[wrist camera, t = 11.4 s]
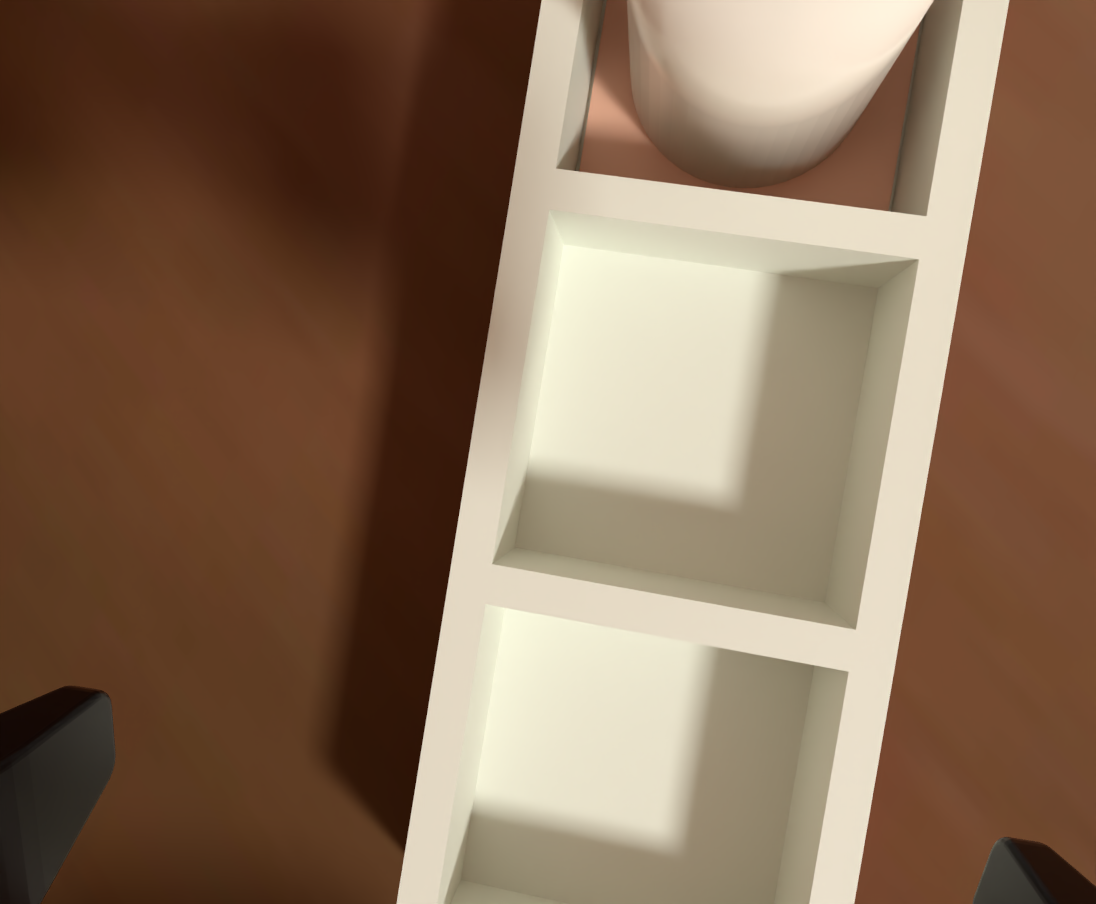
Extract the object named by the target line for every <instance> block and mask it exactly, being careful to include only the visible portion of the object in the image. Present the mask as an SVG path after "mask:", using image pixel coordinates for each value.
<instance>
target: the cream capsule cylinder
mask: <svg viewBox="0 0 1096 904" xmlns="http://www.w3.org/2000/svg"><path fill="white" fill-rule="evenodd" d="M933 1H934V0H627V13H628V34H629V56H630V77H631V88H632V96H633V100H634V104H635V108H636V112H637V114H638V117H639V119H640V122H641V124H642V126H643V128H644V130H645V131H646V133H647V135H648V137H649V138H650V140H651V141H652V142H653V143H654V145H655V146H656V147H657V149H658V150H659V151H660V152H661V153H662V154H663V155H664V156H665V157H666V158H667V159H668V160H669V161H670V162H672V163H673V164H674V165H676V166H677V167H678V168H680V169H681V170H683V171H685V172H686V173H688V174H690V175H692V176H694V177H696V178H698V179H701V180H703V181H706V182H708V183H712V184H716V185H720V186H725V187H733V188H758V187H765V186H771V185H775V184H779V183H782V182H786V181H788V180H791V179H793V178H795V177H798V176H800V175H802V174H804V173H806V172H807V171H809V170H811V169H813V168H814V167H816V166H817V165H818V164H820V163H821V162H822V161H824V160H825V159H826V158H828V157H829V156H830V155H831V154H832V153H833V152H834V151H835V150H836V149H837V148H838V147H839V146H840V145H841V143H842V142H843V141H844V140H845V138H846V137H847V136H848V135H849V133H850V132H851V130H852V129H853V127H854V125H855V124H856V122H857V121H858V119H859V118H860V116H861V114H862V113H863V111H864V110H865V108H866V107H867V105H868V103H869V102H870V100H871V99H872V97H873V95H874V94H875V92H876V91H877V89H878V88H879V86H880V84H881V83H882V81H883V80H884V78H885V77H886V75H887V73H888V72H889V70H890V69H891V67H892V66H893V64H894V62H895V61H896V59H897V58H898V56H899V55H900V53H901V51H902V50H903V48H904V47H905V45H906V43H907V42H908V40H909V39H910V37H911V36H912V34H913V32H914V31H915V29H916V28H917V26H918V25H919V23H920V21H921V20H922V18H923V17H924V15H925V14H926V12H927V10H928V9H929V7H930V6H931V4H932V2H933Z"/></svg>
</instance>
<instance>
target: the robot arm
mask: <svg viewBox="0 0 1096 904" xmlns="http://www.w3.org/2000/svg"><path fill="white" fill-rule="evenodd" d="M114 764H115V741H114V729H113V716H112V705H111V700H110V698H109V696H108V694H107V693H105V692H104V691H102V690H97V689H91V688H85V687H79V686H64V687H62V688H59V689H57V690H54V691H52V692H50V693H47V694H45V695H43V696H40V697H38V698H36V699H33V700H31V701H29V702H26V703H24V704H22V705H19V706H17V707H15V708H12V709H10V710H8V711H5V712H3V713H1V714H0V904H40V903H41V902H42V900H43V898H44V897H45V895H46V893H47V891H48V889H49V888H50V886H51V884H52V882H53V880H54V879H55V877H56V875H57V873H58V871H59V870H60V868H61V866H62V864H63V862H64V861H65V859H66V857H67V855H68V853H69V851H70V850H71V848H72V846H73V844H74V842H75V841H76V839H77V837H78V835H79V833H80V832H81V830H82V828H83V826H84V824H85V823H86V821H87V819H88V817H89V815H90V813H91V812H92V810H93V808H94V806H95V804H96V803H97V801H98V799H99V797H100V795H101V794H102V792H103V790H104V788H105V786H106V785H107V783H108V781H109V779H110V776H111V774H112V771H113V768H114ZM973 904H1096V886H1095V885H1093V884H1092V883H1091V882H1090V881H1089V880H1088V879H1086V878H1085V877H1084V876H1083V875H1082V874H1081V873H1079V872H1078V871H1077V870H1076V869H1075V868H1073V867H1072V866H1071V865H1070V864H1069V863H1068V862H1066V861H1065V860H1064V859H1063V858H1062V857H1061V856H1059V855H1058V854H1057V853H1056V852H1055V851H1054V850H1052V849H1051V848H1050V847H1048V846H1047V845H1045V844H1043V843H1040V842H1035V841H1029V840H1023V839H1017V838H1011V837H1004V838H1000V839H999V840H997V842H996V843H995V844H994V846H993V848H992V850H991V852H990V855H989V858H988V861H987V863H986V866H985V869H984V871H983V874H982V877H981V879H980V882H979V885H978V888H977V890H976V893H975V896H974V899H973Z"/></svg>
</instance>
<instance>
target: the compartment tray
mask: <svg viewBox="0 0 1096 904" xmlns="http://www.w3.org/2000/svg"><path fill="white" fill-rule="evenodd" d="M1008 4H1009V0H934V1H933V2H932V4H931V6H930V7H929V9H928V10H927V12H926V14H925V15H924V17H923V18H922V20H921V21H920V23H919V25H918V26H917V28H916V29H915V31H914V32H913V34H912V36H911V37H910V39H909V40H908V42H907V43H906V45H905V47H904V48H903V50H902V51H901V53H900V55H899V56H898V58H897V59H896V61H895V62H894V64H893V66H892V67H891V69H890V70H889V72H888V73H887V75H886V77H885V78H884V80H883V81H882V83H881V84H880V86H879V88H878V89H877V91H876V92H875V94H874V95H873V97H872V99H871V100H870V102H869V103H868V105H867V107H866V108H865V110H864V111H863V113H862V114H861V116H860V118H859V119H858V121H857V122H856V124H855V125H854V127H853V129H852V130H851V132H850V133H849V135H848V136H847V137H846V138H845V140H844V141H843V142H842V143H841V145H840V146H839V147H838V148H837V149H836V150H835V151H834V152H833V153H832V154H831V155H830V156H829V157H828V158H826V159H825V160H824V161H822V162H821V163H820V164H818V165H817V166H816V167H814V168H813V169H811V170H809V171H807V172H806V173H804V174H802V175H800V176H798V177H795V178H793V179H791V180H788V181H786V182H782V183H779V184H775V185H771V186H765V187H758V188H733V187H725V186H720V185H716V184H712V183H708V182H706V181H703V180H701V179H698V178H696V177H694V176H692V175H690V174H688V173H686V172H685V171H683V170H681V169H680V168H678V167H677V166H676V165H674V164H673V163H672V162H670V161H669V160H668V159H667V158H666V157H665V156H664V155H663V154H662V153H661V152H660V151H659V150H658V149H657V147H656V146H655V145H654V143H653V142H652V141H651V140H650V138H649V137H648V135H647V133H646V131H645V130H644V128H643V126H642V124H641V122H640V119H639V117H638V114H637V112H636V108H635V104H634V100H633V96H632V88H631V77H630V56H629V34H628V13H627V0H542V2H541V8H540V14H539V20H538V27H537V33H536V39H535V45H534V52H533V58H532V64H531V70H530V77H529V83H528V89H527V95H526V101H525V108H524V114H523V120H522V126H521V133H520V139H519V145H518V151H517V157H516V164H515V170H514V176H513V182H512V189H511V195H510V201H509V207H508V214H507V220H506V226H505V232H504V238H503V245H502V251H501V257H500V263H499V270H498V276H497V282H496V288H495V294H494V301H493V307H492V313H491V319H490V326H489V332H488V338H487V344H486V351H485V357H484V363H483V369H482V375H481V382H480V388H479V394H478V400H477V407H476V413H475V419H474V425H473V431H472V438H471V444H470V450H469V456H468V463H467V469H466V475H465V481H464V487H463V494H462V500H461V506H460V512H459V519H458V525H457V531H456V537H455V544H454V550H453V556H452V562H451V568H450V575H449V581H448V587H447V593H446V600H445V606H444V612H443V618H442V624H441V631H440V637H439V643H438V649H437V656H436V662H435V668H434V674H433V681H432V687H431V693H430V699H429V705H428V712H427V718H426V724H425V730H424V737H423V743H422V749H421V755H420V761H419V768H418V774H417V780H416V786H415V793H414V799H413V805H412V811H411V817H410V824H409V830H408V836H407V842H406V849H405V855H404V861H403V867H402V874H401V880H400V886H399V892H398V898H397V904H854V901H855V895H856V889H857V884H858V878H859V872H860V866H861V860H862V855H863V849H864V843H865V837H866V831H867V825H868V820H869V814H870V808H871V802H872V796H873V790H874V785H875V779H876V773H877V767H878V761H879V755H880V750H881V744H882V738H883V732H884V726H885V721H886V715H887V709H888V703H889V697H890V691H891V686H892V680H893V674H894V668H895V662H896V656H897V651H898V645H899V639H900V633H901V627H902V621H903V616H904V610H905V604H906V598H907V592H908V587H909V581H910V575H911V569H912V563H913V557H914V552H915V546H916V540H917V534H918V528H919V522H920V517H921V511H922V505H923V499H924V493H925V487H926V482H927V476H928V470H929V464H930V458H931V453H932V447H933V441H934V435H935V429H936V423H937V418H938V412H939V406H940V400H941V394H942V388H943V383H944V377H945V371H946V365H947V359H948V353H949V348H950V342H951V336H952V330H953V324H954V319H955V313H956V307H957V301H958V295H959V289H960V284H961V278H962V272H963V266H964V260H965V254H966V249H967V243H968V237H969V231H970V225H971V219H972V214H973V208H974V202H975V196H976V190H977V185H978V179H979V173H980V167H981V161H982V155H983V150H984V144H985V138H986V132H987V126H988V120H989V115H990V109H991V103H992V97H993V91H994V85H995V80H996V74H997V68H998V62H999V56H1000V51H1001V45H1002V39H1003V33H1004V27H1005V21H1006V16H1007V10H1008Z"/></svg>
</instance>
